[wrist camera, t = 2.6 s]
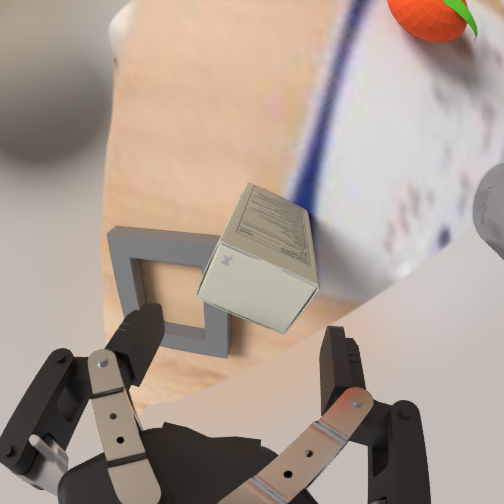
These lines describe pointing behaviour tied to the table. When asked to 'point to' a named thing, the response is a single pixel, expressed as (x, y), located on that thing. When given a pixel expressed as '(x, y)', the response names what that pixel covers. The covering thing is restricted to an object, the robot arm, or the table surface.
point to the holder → (172, 251)
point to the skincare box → (263, 262)
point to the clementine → (433, 18)
